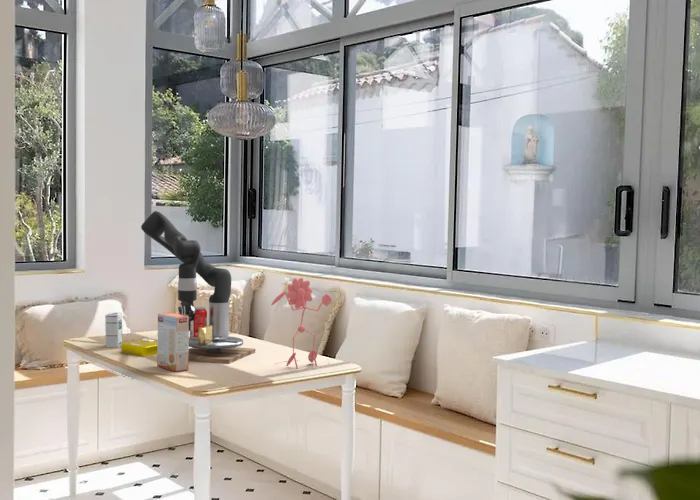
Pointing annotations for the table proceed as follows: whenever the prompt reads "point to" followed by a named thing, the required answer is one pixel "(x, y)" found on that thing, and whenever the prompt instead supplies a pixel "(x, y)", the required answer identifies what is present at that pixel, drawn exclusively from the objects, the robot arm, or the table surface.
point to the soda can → (198, 321)
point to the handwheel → (213, 340)
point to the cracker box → (173, 341)
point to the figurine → (299, 297)
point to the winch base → (219, 354)
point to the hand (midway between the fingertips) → (187, 330)
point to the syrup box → (113, 329)
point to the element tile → (140, 347)
